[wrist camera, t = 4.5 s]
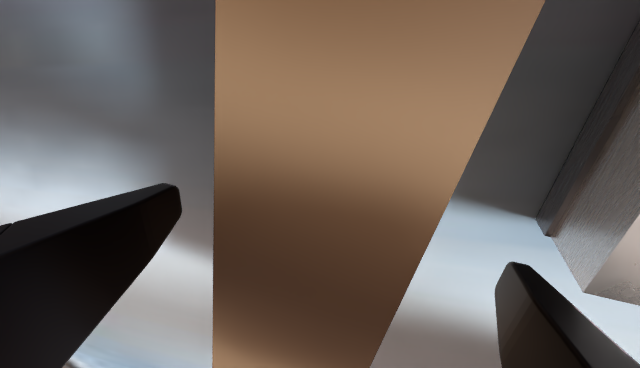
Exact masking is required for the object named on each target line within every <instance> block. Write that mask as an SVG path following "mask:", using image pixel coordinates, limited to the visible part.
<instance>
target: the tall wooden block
mask: <svg viewBox="0 0 640 368" xmlns="http://www.w3.org/2000/svg"><path fill="white" fill-rule="evenodd" d="M544 2H545V0H216V11H215V128H214V245H213V362H212V368H369V367H370V365H371V363H372V361H373V359H374V357H375V355H376V353H377V351H378V349H379V347H380V345H381V342H382V340H383V338H384V336H385V334H386V332H387V330H388V328H389V326H390V324H391V322H392V319H393V317H394V315H395V313H396V311H397V309H398V307H399V305H400V303H401V301H402V299H403V297H404V294H405V292H406V290H407V288H408V286H409V284H410V282H411V280H412V278H413V276H414V274H415V271H416V269H417V267H418V265H419V263H420V261H421V259H422V257H423V255H424V253H425V251H426V249H427V246H428V244H429V242H430V240H431V238H432V236H433V234H434V232H435V230H436V228H437V226H438V223H439V221H440V219H441V217H442V215H443V213H444V211H445V209H446V207H447V205H448V203H449V201H450V198H451V196H452V194H453V192H454V190H455V188H456V186H457V184H458V182H459V180H460V178H461V176H462V173H463V171H464V169H465V167H466V165H467V163H468V161H469V159H470V157H471V155H472V153H473V150H474V148H475V146H476V144H477V142H478V140H479V138H480V136H481V134H482V132H483V130H484V128H485V125H486V123H487V121H488V119H489V117H490V115H491V113H492V111H493V109H494V107H495V105H496V102H497V100H498V98H499V96H500V94H501V92H502V90H503V88H504V86H505V84H506V82H507V80H508V77H509V75H510V73H511V71H512V69H513V67H514V65H515V63H516V61H517V59H518V57H519V54H520V52H521V50H522V48H523V46H524V44H525V42H526V40H527V38H528V36H529V34H530V32H531V29H532V27H533V25H534V23H535V21H536V19H537V17H538V15H539V13H540V11H541V9H542V6H543V4H544Z"/></svg>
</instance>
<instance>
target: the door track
mask: <svg viewBox="0 0 640 368" xmlns="http://www.w3.org/2000/svg"><path fill="white" fill-rule="evenodd" d="M536 221H537V223H538V225H539V227H540V228H541V230H542V232H543V234H544V236H548V237H551V238H552V240H553V241H554V243H555V245H556V247H557V248H558V250H559V252H560V253H561V255H562V257H563V259H564V260H565V262H566V264H567V266H568V267H569V269H570V271H571V272H572V274H573V276H574V278H575V279H576V281H577V283H578V285H579V286H580V288H581V290H582V291H583V293H587V294H592V295H596V296H600V297H605V298H609V299H613V300H618V301H622V302H626V303H631V304H635V305H639V306H640V21H639V23H638V25H637V26H636V28H635V30H634V32H633V34H632V36H631V38H630V40H629V42H628V44H627V46H626V47H625V49H624V51H623V53H622V55H621V57H620V59H619V61H618V63H617V65H616V66H615V68H614V70H613V72H612V74H611V76H610V78H609V80H608V82H607V84H606V86H605V87H604V89H603V91H602V93H601V95H600V97H599V99H598V101H597V103H596V105H595V107H594V108H593V110H592V112H591V114H590V116H589V118H588V120H587V122H586V124H585V126H584V128H583V129H582V131H581V133H580V135H579V137H578V139H577V141H576V143H575V145H574V147H573V149H572V150H571V152H570V154H569V156H568V158H567V160H566V162H565V164H564V166H563V168H562V169H561V171H560V173H559V175H558V177H557V179H556V181H555V183H554V185H553V187H552V189H551V190H550V192H549V194H548V196H547V198H546V200H545V202H544V204H543V206H542V208H541V210H540V211H539V213H538V215H537V217H536Z"/></svg>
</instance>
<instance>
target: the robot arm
mask: <svg viewBox="0 0 640 368" xmlns="http://www.w3.org/2000/svg"><path fill="white" fill-rule="evenodd" d="M181 213H182V206H181V200H180V193H179V189H178V188H177V187H176V186H175V185H170V184H166V183H162V184H158V185H154V186H150V187H146V188H142V189H139V190H135V191H131V192H127V193H123V194H120V195H116V196H112V197H108V198H104V199H100V200H97V201H93V202H89V203H85V204H81V205H78V206H74V207H70V208H66V209H62V210H58V211H55V212H51V213H47V214H43V215H39V216H36V217H32V218H28V219H24V220H20V221H17V222H14V223H13V224H12V223H9V224H5V225H1V226H0V368H62V367H63V366H64V365H65V364H66V363H67V361H68V360H69V359H70V358H71V356H72V355H73V354H74V353H75V352H76V350H77V349H78V348H79V347H80V346H81V344H82V343H83V342H84V341H85V340H86V338H87V337H88V336H89V335H90V334H91V332H92V331H93V330H94V329H95V327H96V326H97V325H98V324H99V323H100V321H101V320H102V319H103V318H104V317H105V315H106V314H107V313H108V312H109V311H110V309H111V308H112V307H113V306H114V304H115V303H116V302H117V301H118V300H119V298H120V297H121V296H122V295H123V294H124V292H125V291H126V290H127V289H128V288H129V286H130V285H131V284H132V283H133V282H134V280H135V279H136V278H137V277H138V275H139V274H140V273H141V272H142V271H143V269H144V268H145V267H146V266H147V265H148V263H149V262H150V261H151V259H152V258H153V257H154V255H155V254H156V253H157V251H158V250H159V248H160V247H161V245H162V244H163V242H164V241H165V239H166V238H167V236H168V235H169V233H170V232H171V230H172V229H173V227H174V226H175V224H176V223H177V221H178V220H179V218H180V216H181ZM495 304H496V317H497V330H498V343H499V353H500V359H501V365H502V368H640V364H639V363H637V362H636V361H635V360H634V359H633V358H632V357H631V356H630V355H628V354H627V353H626V352H625V351H624V350H623V349H622V348H621V347H620V346H618V345H617V344H616V343H615V342H614V341H613V340H612V339H611V338H610V337H608V336H607V335H606V334H605V333H604V332H603V331H602V330H601V329H599V328H598V327H597V326H596V325H595V324H594V323H593V322H592V321H591V320H589V319H588V318H587V317H586V316H585V315H584V314H583V313H582V312H581V311H579V310H578V309H577V308H576V307H575V306H574V305H573V304H572V303H570V302H569V301H568V300H567V299H566V298H565V297H564V296H563V295H562V294H560V293H559V292H558V291H557V290H556V289H555V288H554V287H553V286H552V285H550V284H549V283H548V282H547V281H546V280H545V279H544V278H543V277H541V276H540V275H539V274H538V273H537V272H536V271H535V270H534V269H533V268H531V267H530V266H529V265H526V264H521V263H517V262H509V263H508V264H507V265H506V267H505V269H504V271H503V273H502V275H501V277H500V279H499V281H498V283H497V285H496V288H495Z"/></svg>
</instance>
